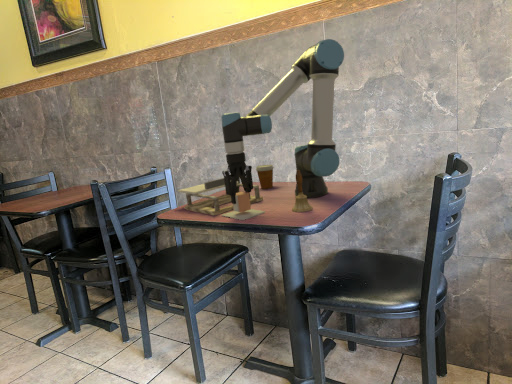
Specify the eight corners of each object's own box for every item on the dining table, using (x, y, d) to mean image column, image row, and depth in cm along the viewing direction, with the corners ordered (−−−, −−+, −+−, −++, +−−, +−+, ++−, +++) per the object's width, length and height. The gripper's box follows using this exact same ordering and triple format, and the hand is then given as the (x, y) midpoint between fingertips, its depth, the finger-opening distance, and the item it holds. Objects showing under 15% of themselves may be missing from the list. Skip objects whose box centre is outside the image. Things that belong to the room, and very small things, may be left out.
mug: (243, 189, 206) (241, 172, 204) (240, 193, 194) (237, 175, 193) (229, 190, 207) (226, 173, 205) (224, 195, 196) (222, 177, 194)
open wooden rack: (263, 199, 173) (261, 184, 172) (214, 215, 156) (211, 198, 154) (232, 195, 191) (230, 182, 190) (185, 209, 174) (182, 194, 172)
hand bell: (311, 211, 143) (307, 171, 140) (290, 212, 145) (285, 172, 142) (314, 206, 151) (310, 167, 148) (293, 207, 153) (289, 169, 150)
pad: (265, 212, 150) (265, 211, 150) (242, 220, 143) (242, 219, 143) (243, 208, 161) (243, 207, 161) (221, 216, 153) (221, 214, 153)
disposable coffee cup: (254, 189, 200) (252, 167, 198) (264, 185, 208) (262, 164, 206) (269, 189, 195) (266, 167, 192) (278, 185, 202) (276, 164, 200)
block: (250, 209, 151) (248, 192, 150) (241, 212, 148) (239, 195, 146) (243, 208, 155) (241, 191, 153) (233, 210, 152) (231, 194, 150)
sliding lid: (238, 183, 182) (237, 175, 181) (195, 194, 166) (193, 185, 166) (220, 181, 193) (219, 174, 193) (178, 192, 178) (177, 184, 177)
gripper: (246, 149, 155) (252, 203, 160) (211, 156, 144) (219, 213, 148) (258, 149, 149) (264, 205, 154) (222, 156, 138) (230, 216, 143)
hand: (242, 209), depth 151 cm, fingers closed on block, 5 cm apart
